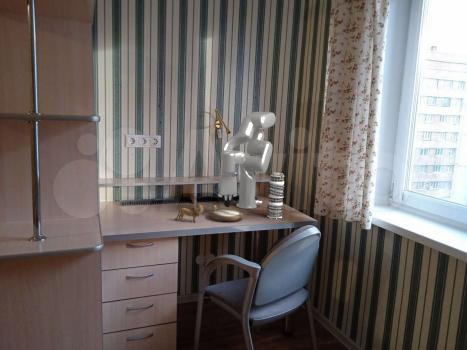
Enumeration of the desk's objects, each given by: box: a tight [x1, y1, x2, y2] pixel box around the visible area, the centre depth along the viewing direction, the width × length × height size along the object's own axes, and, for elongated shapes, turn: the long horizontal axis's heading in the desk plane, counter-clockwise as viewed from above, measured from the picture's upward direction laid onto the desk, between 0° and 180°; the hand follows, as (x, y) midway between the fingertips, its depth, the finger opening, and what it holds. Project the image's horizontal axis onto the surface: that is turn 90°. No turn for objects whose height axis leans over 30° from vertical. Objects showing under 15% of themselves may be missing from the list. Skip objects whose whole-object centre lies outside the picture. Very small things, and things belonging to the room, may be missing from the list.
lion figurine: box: [174, 204, 204, 223], centre depth 189 cm, size 15×5×9 cm, turn 90°
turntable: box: [209, 204, 244, 222], centre depth 199 cm, size 18×18×5 cm
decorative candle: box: [266, 171, 286, 220], centre depth 205 cm, size 9×9×25 cm
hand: (227, 206), depth 207 cm, fingers closed
